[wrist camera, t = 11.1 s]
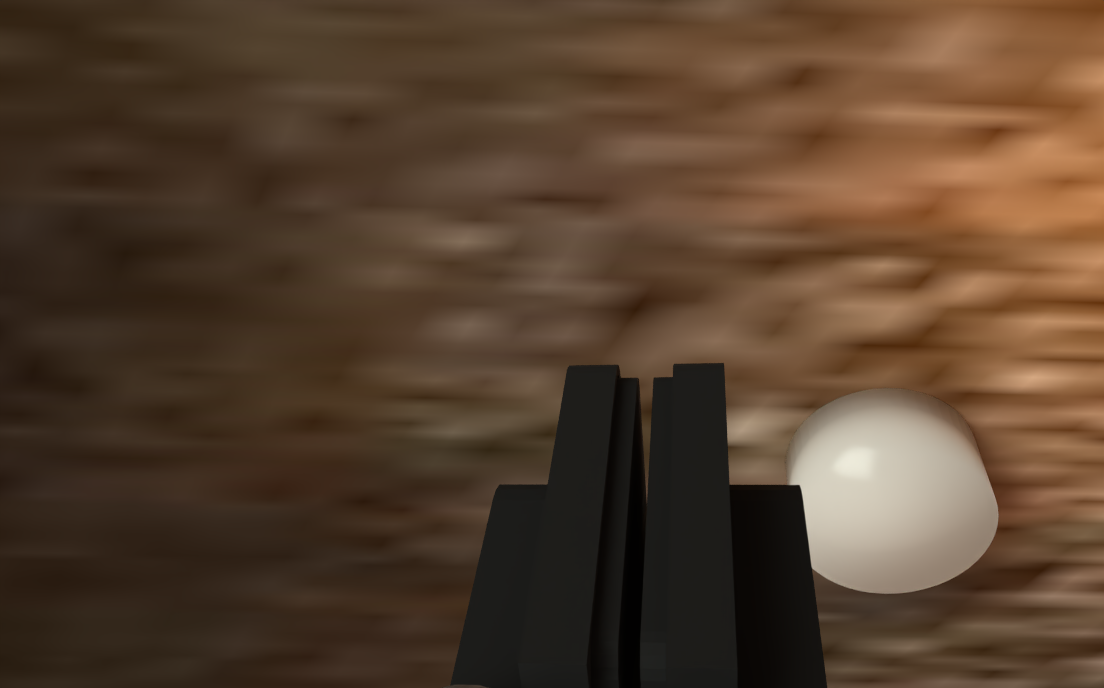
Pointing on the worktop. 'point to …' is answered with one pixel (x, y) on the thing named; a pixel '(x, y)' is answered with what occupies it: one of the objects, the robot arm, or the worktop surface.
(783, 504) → the robot arm
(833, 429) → the cream dome knob
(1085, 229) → the worktop surface
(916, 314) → the worktop surface
